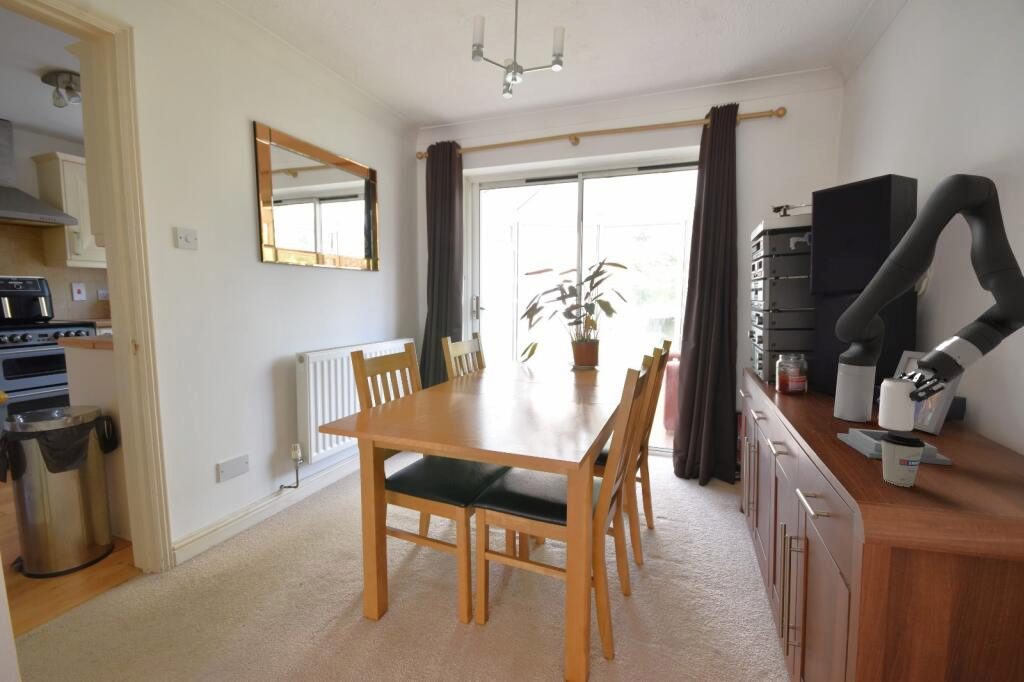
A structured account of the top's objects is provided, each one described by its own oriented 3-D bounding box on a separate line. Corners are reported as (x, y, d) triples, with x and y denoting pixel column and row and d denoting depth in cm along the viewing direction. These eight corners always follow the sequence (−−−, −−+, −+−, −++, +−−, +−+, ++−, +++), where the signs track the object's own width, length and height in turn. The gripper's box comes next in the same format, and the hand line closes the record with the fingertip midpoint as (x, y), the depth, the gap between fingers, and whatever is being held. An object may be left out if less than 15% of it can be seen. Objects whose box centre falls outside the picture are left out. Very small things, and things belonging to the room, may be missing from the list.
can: (920, 432, 106) (923, 382, 105) (889, 431, 107) (892, 381, 106) (901, 425, 112) (904, 377, 111) (872, 424, 113) (875, 377, 112)
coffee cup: (867, 475, 94) (871, 429, 93) (897, 475, 95) (902, 429, 94) (897, 489, 88) (903, 440, 87) (930, 489, 88) (936, 439, 87)
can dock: (837, 437, 121) (838, 425, 120) (906, 443, 117) (907, 431, 117) (869, 457, 105) (870, 444, 105) (950, 465, 102) (952, 451, 101)
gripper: (917, 345, 114) (858, 389, 118) (958, 351, 100) (890, 401, 104) (940, 367, 113) (880, 410, 117) (984, 375, 99) (915, 425, 103)
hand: (885, 405), depth 110 cm, fingers closed on can, 4 cm apart
